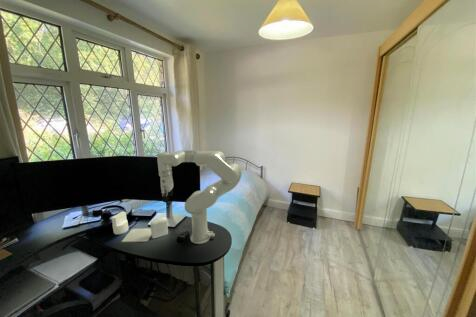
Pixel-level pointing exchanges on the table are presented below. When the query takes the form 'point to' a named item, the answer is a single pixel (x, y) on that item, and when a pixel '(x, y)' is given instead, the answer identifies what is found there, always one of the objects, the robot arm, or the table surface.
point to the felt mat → (138, 235)
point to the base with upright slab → (120, 223)
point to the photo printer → (159, 227)
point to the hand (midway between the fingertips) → (168, 198)
